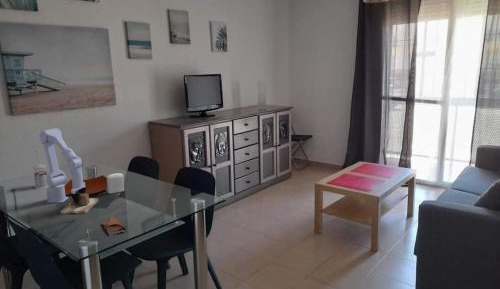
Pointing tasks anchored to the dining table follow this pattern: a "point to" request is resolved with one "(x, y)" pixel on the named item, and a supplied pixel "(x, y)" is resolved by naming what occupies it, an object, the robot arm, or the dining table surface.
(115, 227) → the sunglasses case
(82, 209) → the board
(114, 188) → the photo printer
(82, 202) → the block
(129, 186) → the dining table surface
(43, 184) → the french press
